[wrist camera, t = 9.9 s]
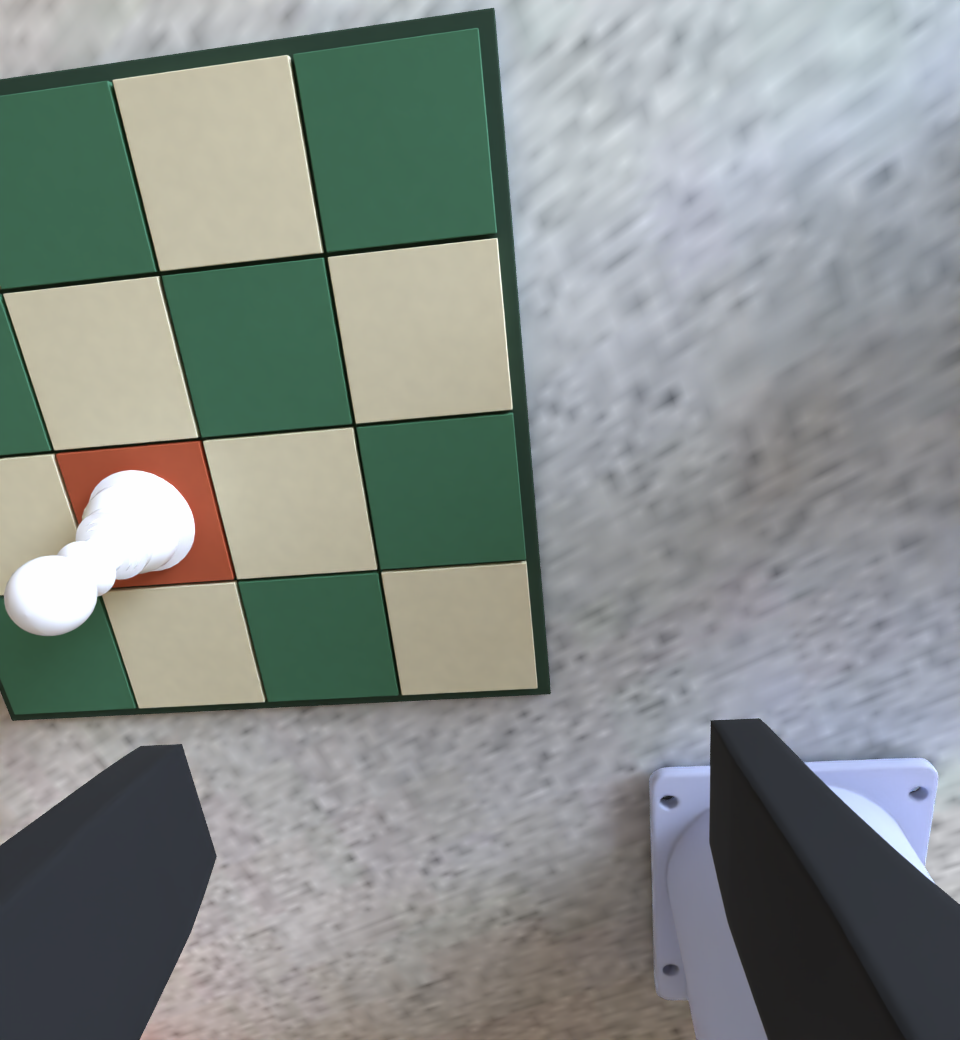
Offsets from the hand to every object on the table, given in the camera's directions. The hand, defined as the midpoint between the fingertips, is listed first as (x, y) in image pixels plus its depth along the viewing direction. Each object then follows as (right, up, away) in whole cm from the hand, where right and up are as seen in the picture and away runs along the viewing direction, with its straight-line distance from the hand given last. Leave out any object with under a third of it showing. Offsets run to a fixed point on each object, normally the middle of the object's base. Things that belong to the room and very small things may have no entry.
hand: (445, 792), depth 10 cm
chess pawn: (-8, +4, +10) cm, 13 cm away
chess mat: (-7, +6, +9) cm, 12 cm away
